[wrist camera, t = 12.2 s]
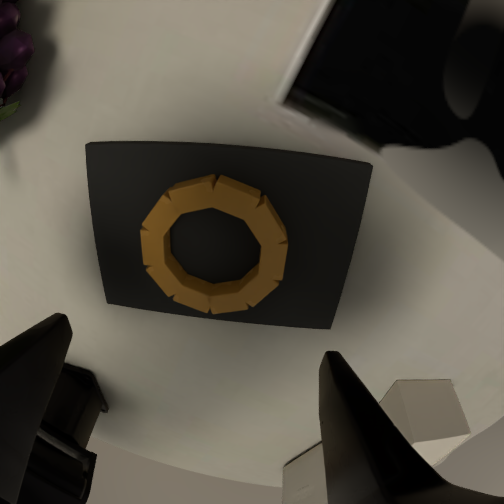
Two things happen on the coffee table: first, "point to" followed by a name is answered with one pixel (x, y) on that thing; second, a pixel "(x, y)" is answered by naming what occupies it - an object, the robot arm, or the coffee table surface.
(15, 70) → the fruit
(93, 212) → the mat
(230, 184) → the ring
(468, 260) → the coffee table surface
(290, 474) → the photo printer
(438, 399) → the white cube
